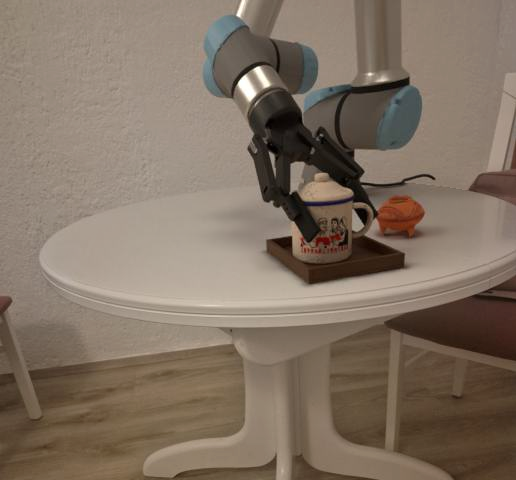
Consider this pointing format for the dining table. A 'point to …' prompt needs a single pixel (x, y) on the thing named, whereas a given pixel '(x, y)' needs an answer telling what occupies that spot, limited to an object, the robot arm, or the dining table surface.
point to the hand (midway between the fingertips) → (344, 228)
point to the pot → (400, 214)
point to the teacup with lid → (328, 222)
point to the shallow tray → (360, 261)
